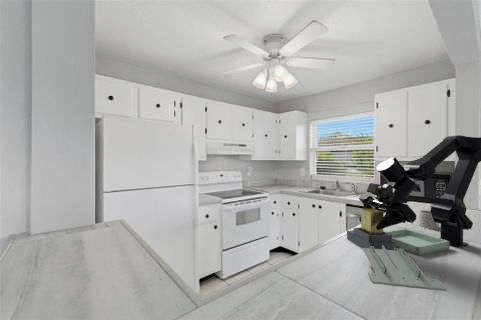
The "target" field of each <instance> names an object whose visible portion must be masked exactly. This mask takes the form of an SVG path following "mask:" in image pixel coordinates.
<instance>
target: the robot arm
mask: <svg viewBox="0 0 481 320" xmlns="http://www.w3.org/2000/svg"><path fill="white" fill-rule="evenodd" d="M454 153H455V154H456V156H457V158H458V160H457V162H456V165H455V166H454V167H455V168H454V170H453V172H452V175H451V177H450V179H449V182H448V185H447V186H446V189H445V191H444V193H443V195H441V196H440V197H439V196H434V198H433V200H432V203H431V205H430V210H429V211H430V212H431V214H432V217H433V220H434V222H437V223H439V225H440V237H439V238H440V239H443V240H447V241H450V245H449V246H453V247H456V248H457V247H458V248H460V247H465V246H469V245H470V244H469V242H465V241H464V230H466V231H469V230H471V229H472V228H473V225H474V223H473V221H472V220H471V219H470V217H468V215H467V207H466V204H465V202H464V199H465V196H466V195H467V192H468V190H469V187H470V184H471V182H472V180H473V177H474V174H475V172H476V169H477V168H478V165H479V163H481V136H480V137H475V136H465V135H460V134H459V135H450V136H446V137H444V138H443V140H442V141H441V142H439V143H438V144H437V145H436V146H435V147H433V148H432V149H431V150H430V151H428V152H427V153H426V154H424V155H423V156H422V157H420V158H418V159H414V160H411V161H410V162H407V163H406V164H404V165H402V164H401V163H400V162H399V161H398V158H397V157H389V158H388V159H386V160H383V161H382V162H379V164H378V165H376V170H377V171H378V173H379V174H380V175H381V176H382V177H383V178H384V179H385V180H386V182H387V183H388V184H387V183H385V184H379V183H374V182H373V183H372V182H369V185H368V186H367V189H366V192H367V193H370V194H372V195H374V197H373V196H372V195H367V194H361V195H360V196H359V197H358V200H359V201H360V202H361V204H362V205H363V208H362V209H376V210H379V209H381V210H385V213H384V217H383V218H382V219H381V221H380V222H379V223H378V224H377V226H376V229H377V230H380V229H383V230H384V229H386V228H388V227H391V226H396V225H398V224H405V223H407V222H408V223H411V224H413V223H414V222H415V221H416V220H417V213H416V212H415V211H414V210H413V209H412V208H411V207H410V206H409V205H408V204H407V203H408V202H409V201H408V199H407V198H408V197H409V196H410V195H411V194H412V192H416V193H421V191H422V190H421V186H420V185H421V184H419V183H416V181H420V182H426V181H429V180H430V179H431V178H432V177H433V175H435V173H436V169H437V167H438V166H439V165H441V163H443V162H444V161H445V160H446V159H448V158H449V157H450V156H451V155H452V154H454ZM389 183H391V184H389ZM375 199H376V200H375ZM358 221H359V222H360V223H361V216H360V217H359V219H358Z"/></svg>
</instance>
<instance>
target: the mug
mask: <svg viewBox="0 0 481 320" xmlns="http://www.w3.org/2000/svg"><path fill="white" fill-rule="evenodd" d="M418 218H419V219H418V227H420V226H421V227H420V228H422V227H424V228H423V229H426V228H429V229H428V230H431V229H439V230H440V223H437V222H434V220H433V217H432V214H431V212H430V210H424V209H423V210H421V209H420V210H419V211H418Z"/></svg>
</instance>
